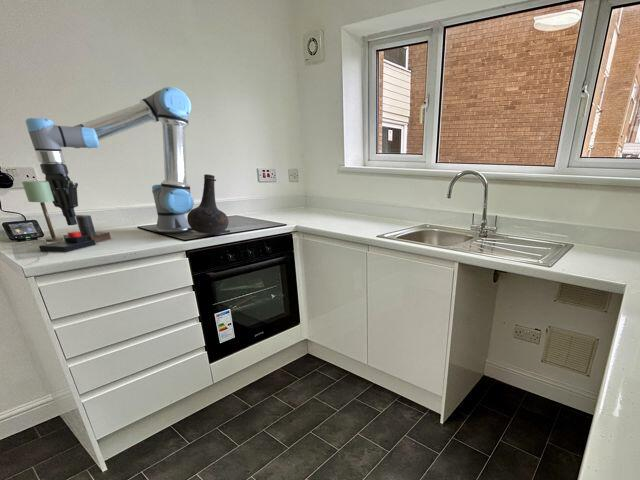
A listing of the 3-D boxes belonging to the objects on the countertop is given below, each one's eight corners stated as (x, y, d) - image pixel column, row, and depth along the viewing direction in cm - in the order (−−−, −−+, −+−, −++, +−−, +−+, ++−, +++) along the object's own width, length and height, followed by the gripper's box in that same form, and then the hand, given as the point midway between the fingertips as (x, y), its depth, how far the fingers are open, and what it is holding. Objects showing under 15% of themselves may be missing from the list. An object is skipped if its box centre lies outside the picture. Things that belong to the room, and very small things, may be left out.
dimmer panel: (112, 238, 160) (110, 232, 159) (92, 244, 150) (89, 236, 149) (85, 237, 160) (83, 231, 159) (63, 242, 150) (60, 235, 149)
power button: (84, 236, 147) (82, 231, 146) (75, 238, 143) (74, 233, 142) (74, 236, 147) (73, 231, 146) (66, 238, 143) (64, 233, 142)
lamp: (71, 239, 140) (53, 181, 132) (55, 242, 133) (35, 182, 125) (54, 238, 140) (35, 180, 132) (37, 242, 133) (15, 181, 125)
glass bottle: (187, 232, 161) (187, 169, 156) (187, 230, 176) (187, 172, 171) (229, 236, 170) (231, 176, 165) (226, 234, 185) (227, 179, 180)
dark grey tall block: (98, 233, 156) (93, 214, 153) (91, 235, 151) (85, 216, 148) (85, 233, 155) (80, 214, 152) (78, 235, 150) (72, 216, 147)
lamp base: (96, 244, 150) (94, 235, 148) (66, 252, 136) (62, 242, 135) (73, 243, 150) (70, 234, 148) (40, 251, 136) (37, 241, 135)
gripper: (77, 163, 138) (95, 223, 147) (45, 162, 138) (65, 222, 147) (60, 163, 131) (80, 226, 140) (26, 162, 131) (48, 226, 140)
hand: (72, 224), depth 143 cm, fingers closed
